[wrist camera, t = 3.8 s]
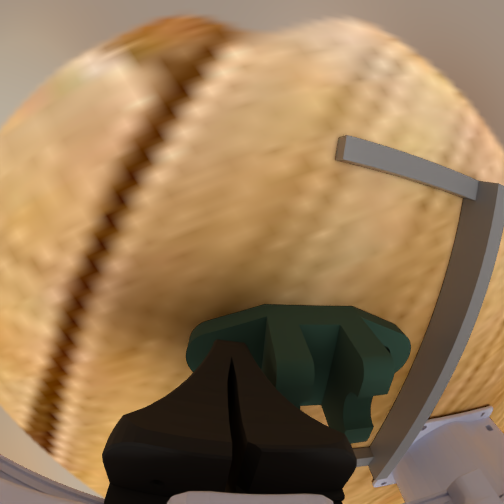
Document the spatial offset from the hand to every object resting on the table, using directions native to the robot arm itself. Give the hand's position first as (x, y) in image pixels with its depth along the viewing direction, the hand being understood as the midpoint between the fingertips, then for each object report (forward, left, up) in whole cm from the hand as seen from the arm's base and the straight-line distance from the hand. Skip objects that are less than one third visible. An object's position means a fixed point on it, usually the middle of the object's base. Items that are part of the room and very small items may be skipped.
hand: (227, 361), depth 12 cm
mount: (-4, 0, -2) cm, 4 cm away
